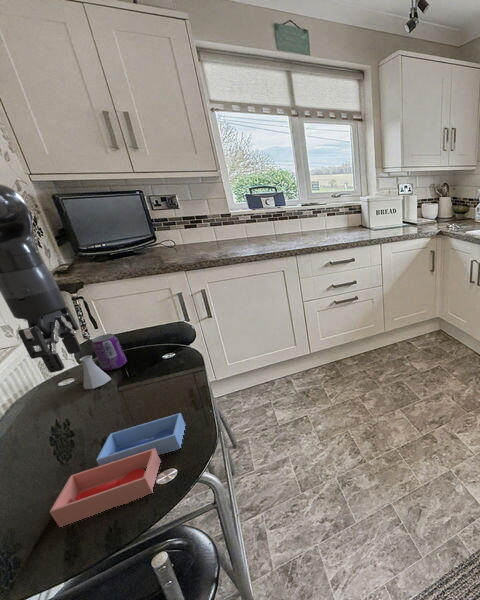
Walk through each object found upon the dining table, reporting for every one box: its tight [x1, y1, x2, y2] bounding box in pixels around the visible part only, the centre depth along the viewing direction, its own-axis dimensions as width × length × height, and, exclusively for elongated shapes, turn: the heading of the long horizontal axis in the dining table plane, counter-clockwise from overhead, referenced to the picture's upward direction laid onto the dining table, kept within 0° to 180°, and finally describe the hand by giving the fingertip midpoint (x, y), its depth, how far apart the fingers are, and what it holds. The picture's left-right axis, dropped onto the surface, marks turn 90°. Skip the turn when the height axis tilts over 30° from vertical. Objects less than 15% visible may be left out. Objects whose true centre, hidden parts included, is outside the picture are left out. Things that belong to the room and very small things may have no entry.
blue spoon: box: [115, 430, 174, 453], centre depth 79 cm, size 12×4×2 cm, turn 115°
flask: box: [79, 354, 112, 390], centre depth 108 cm, size 7×7×10 cm
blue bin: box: [95, 412, 187, 467], centre depth 79 cm, size 15×9×4 cm, turn 115°
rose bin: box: [49, 448, 162, 528], centre depth 68 cm, size 15×9×4 cm, turn 115°
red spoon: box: [76, 469, 145, 501], centre depth 68 cm, size 12×4×2 cm, turn 115°
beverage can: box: [91, 333, 128, 371], centre depth 118 cm, size 7×7×12 cm
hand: (67, 361), depth 70 cm, fingers open, 8 cm apart
